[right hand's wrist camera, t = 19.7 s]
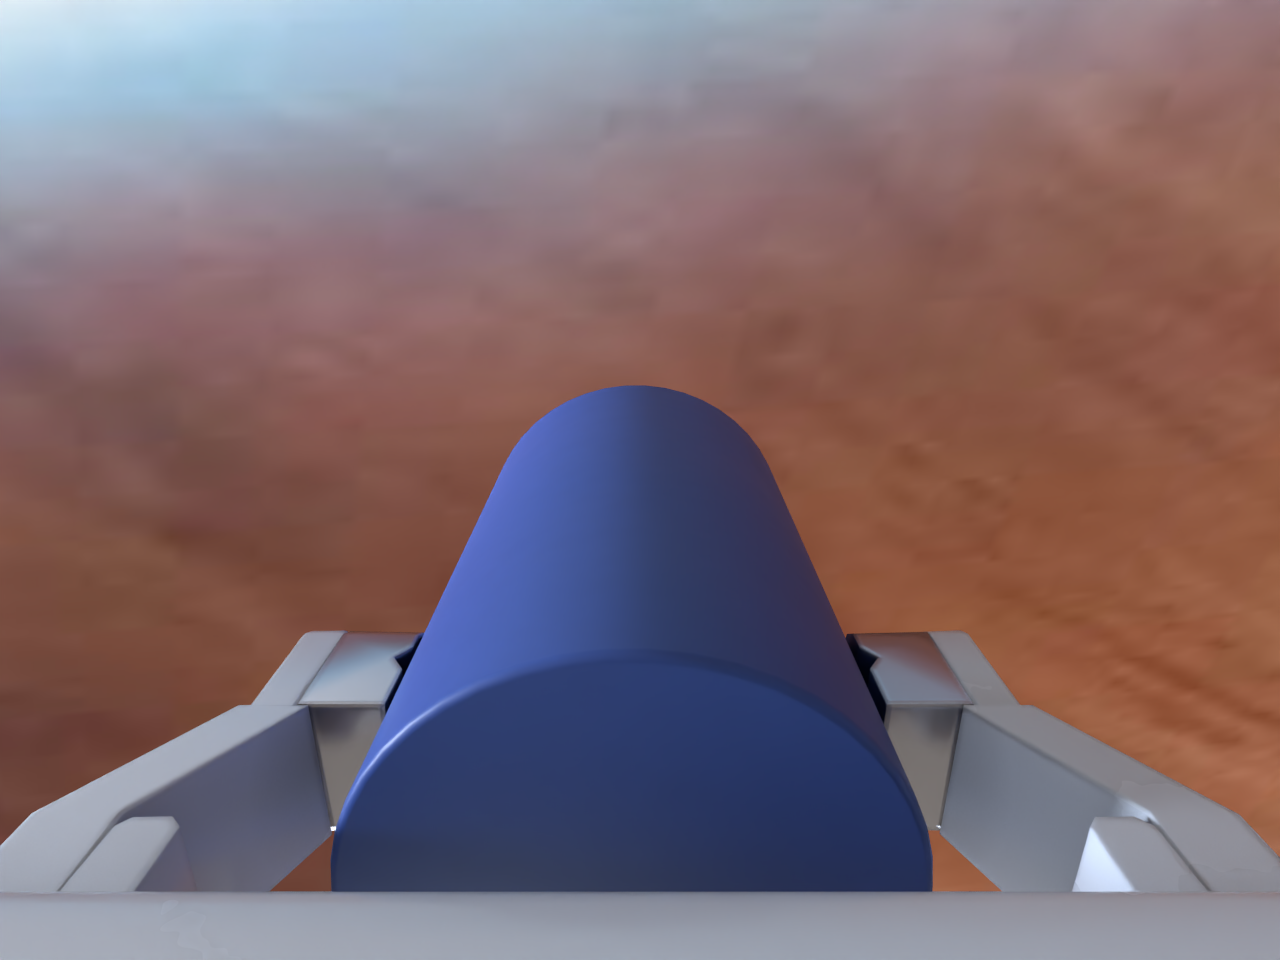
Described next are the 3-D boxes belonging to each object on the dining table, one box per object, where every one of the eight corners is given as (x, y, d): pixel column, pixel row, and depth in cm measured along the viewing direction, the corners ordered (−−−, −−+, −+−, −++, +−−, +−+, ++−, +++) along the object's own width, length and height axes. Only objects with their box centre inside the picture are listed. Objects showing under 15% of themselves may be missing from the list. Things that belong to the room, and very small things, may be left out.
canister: (821, 579, 15) (1013, 1002, 8) (578, 682, 16) (521, 1158, 8) (705, 332, 14) (795, 546, 6) (439, 463, 15) (197, 805, 7)
